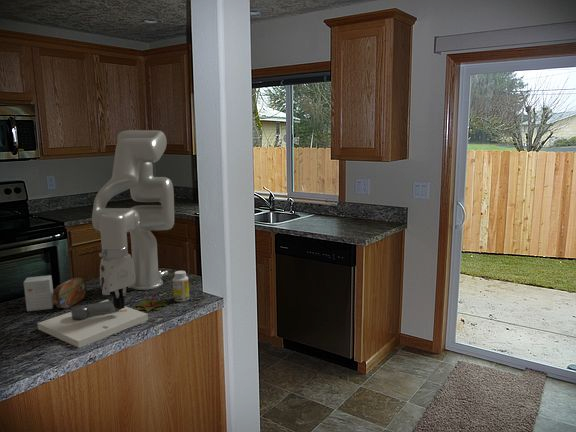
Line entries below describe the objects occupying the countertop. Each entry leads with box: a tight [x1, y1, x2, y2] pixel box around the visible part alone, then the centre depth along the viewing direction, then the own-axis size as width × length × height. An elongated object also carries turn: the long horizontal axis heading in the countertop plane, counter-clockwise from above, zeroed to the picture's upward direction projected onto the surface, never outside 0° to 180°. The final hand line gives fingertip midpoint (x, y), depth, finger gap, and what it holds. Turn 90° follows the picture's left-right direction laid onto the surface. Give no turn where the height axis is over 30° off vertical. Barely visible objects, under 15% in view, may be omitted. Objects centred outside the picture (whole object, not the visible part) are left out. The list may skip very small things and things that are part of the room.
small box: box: [23, 274, 55, 312], centre depth 162 cm, size 8×6×10 cm
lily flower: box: [134, 293, 169, 313], centre depth 163 cm, size 12×12×5 cm
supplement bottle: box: [172, 270, 190, 302], centre depth 169 cm, size 6×6×10 cm
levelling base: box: [37, 299, 149, 349], centre depth 148 cm, size 24×22×4 cm
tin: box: [53, 277, 87, 309], centre depth 166 cm, size 15×3×8 cm, turn 168°
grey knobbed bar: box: [70, 297, 121, 320], centre depth 151 cm, size 15×5×4 cm, turn 121°
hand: (119, 307), depth 151 cm, fingers closed
